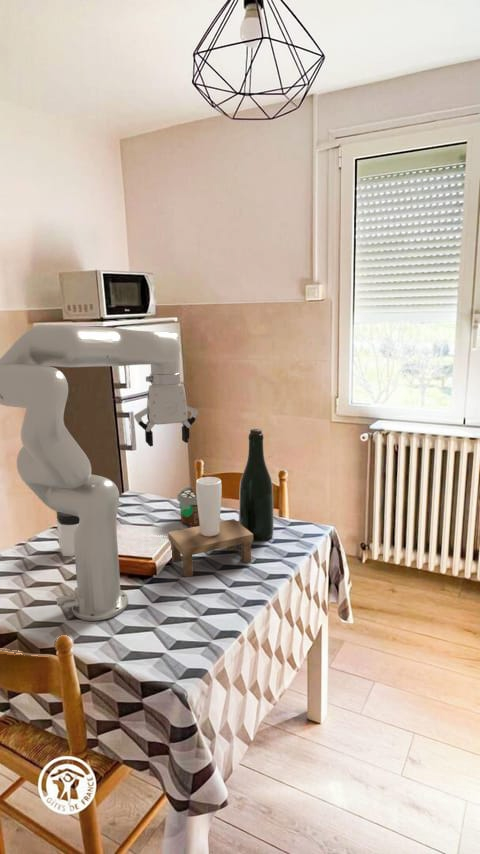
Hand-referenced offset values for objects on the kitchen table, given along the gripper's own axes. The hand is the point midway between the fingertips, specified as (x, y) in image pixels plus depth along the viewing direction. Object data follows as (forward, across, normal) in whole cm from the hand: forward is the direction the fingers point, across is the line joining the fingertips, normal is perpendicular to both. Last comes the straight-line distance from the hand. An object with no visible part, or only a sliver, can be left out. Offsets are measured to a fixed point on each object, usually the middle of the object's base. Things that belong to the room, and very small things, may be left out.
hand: (167, 443), depth 141 cm
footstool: (+32, +9, -8) cm, 34 cm away
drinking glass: (+24, +8, -8) cm, 27 cm away
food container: (+32, +11, +20) cm, 40 cm away
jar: (+32, -24, +14) cm, 43 cm away
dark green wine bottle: (+32, +27, +2) cm, 42 cm away
